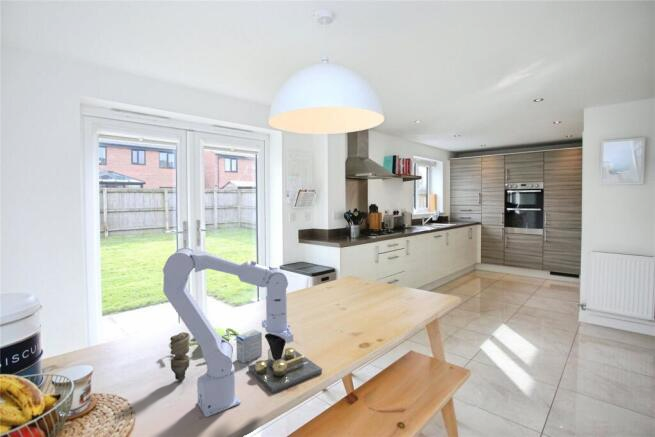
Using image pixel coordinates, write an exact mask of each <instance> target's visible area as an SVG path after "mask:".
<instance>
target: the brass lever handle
mask: <svg viewBox="0 0 655 437" xmlns="http://www.w3.org/2000/svg"><path fill="white" fill-rule="evenodd" d="M301 355H302V356H299V357H297V358H294V359H291V360H289V361H285V360H277V361H274V362H273V374H274V375H276V376H281V375H284V374H286V373H287V369H288V368H290V367H293V366H296V365H298V364H301V363H304V362H305V357H306V356H305V355H303V354H301Z"/></svg>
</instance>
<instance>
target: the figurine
mask: <svg viewBox="0 0 655 437" xmlns="http://www.w3.org/2000/svg"><path fill="white" fill-rule="evenodd" d="M214 330H215V331H216V333H217V334H220V335H221V336H222V338H223V339H224V340H226V341H230V340H231V337H232V336H231V333H232V334H234V335H235V337H236V336H238V335H241V334H240V333H239V332H238V331H237V330H235V329H233V328H231V327H227V328H226V329H225V330H224V329H223V328H220V327H216V328H214ZM230 332H231V333H230ZM225 333H226V335H227V336H225ZM189 344H190V346H189V347H192V346H196V345H199V344H198V342H197V341H196V340H195V341H190V342H189ZM171 346H172V345H171V344H170V343H168V347H169V348H170V354H171V351H172V350H171Z"/></svg>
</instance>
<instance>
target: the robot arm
mask: <svg viewBox="0 0 655 437" xmlns="http://www.w3.org/2000/svg"><path fill="white" fill-rule="evenodd" d="M207 269H209V270H213V271H216V272H222V273H225V274H230V275H234V276H237V277H238V280H239V281H240V282H241V283H246V284H249V285H252V286H255V287H260V288H266V296H265V299H266V301H265V304H266V305H265V306H266V310H265V312H266V314H265V315H266V317H265V318H266V319H264V320H261V327H262V328H263V329H265V332H266V334H265V335H264V337H265V339H266V341H267V343H268V346H269V349H271V353H272V357H273V359H274V360H278V359H281V358H282V353H283V349H284V350H285V346H286V344H290V343H293V342H294V334H293V333H292V332H291V330H290V329H289V328H291V324H290V323H288V320H287V319H288V314H287V312H288V311H287V310H288V309H287V308H288V307H287V306H288V305H287V299H288V297H287V288H288V286H289V282H288V278H287V276H286V274H285V273H284V272H283V271H282V270H281V269H279V267H278V268H277V267H273V266H270V265H269V266H265V265H262V264H258V263H257V261H256V260H253V259H252V260H251V261H248V260H247V261H245V262H243V263H240V262H239V263H238V262H236V261H233V260H230V259H227V258H223V257H221V256H218V255H216V254H213V253H209V252H206V251H203V250H199V249H194V250H193V249H191V248H190V247H182V248H178V250H176V251H175V252H174V253H172V254H171V255H170V256H169V257H168V258H167V260H166V261H165V264H164V265H163V268H162V273H163V287H162V288H163V290H162V292H163V294H164V295H165V298H166V299H167V300H168V301H169V303H170V304H171V306H172V308H173V309H174V310H175V313H177V315H178V316H179V317H180V319H181V320H182V322H183V323H184V325H185V327H186V328H187V330H188V331H189V332H190V334H191V335H192V337H193V338H194V339H195V341H197V342H198V344H197V345H199V347H200V350H201V354H202V357H203V360H204V361H205V362H206V369H207V370H206V372H205V373H204V374H203V375H201V376H199V377H198V378H197V380H196V381H197V382H196V384H197V385H196V386H197V401H196V403H197V405H198V408H200V410H201V411H202V413H203V415H204V416H205V417H207V418H208V417H211V416H213V415H215V414H219V412H222V411H225V410H227V409H230V408H232V407H235V406H237V405H240V404H241V400H240V398H238V396H237V395H236V381H235V378H236V374H235V373H236V372H235V370H236V369H235V368H236V367H235V365H234V364H233V353H234V347H233V345H232V344H231V342H230V341H229V340H225V339H223V338H222V336H221V335H220V334H217V333H216V331H215V330H214V329H215V328H214V327H213V325H212V324H211V323H210V321H209V319H208V317H207V316H206V315H205V314H204V312H203V310H202V309H201V307H200V306H199V305H198V303H197V301H196V300H195V298H194V297H193V295H192V294H191V292H190V291H189V289H188V288H187V284H188V280H189V277H190V274H191V272H192V271H193V270H194V273H198V272H201V271H204V270H207Z"/></svg>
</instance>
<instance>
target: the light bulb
mask: <svg viewBox="0 0 655 437" xmlns="http://www.w3.org/2000/svg"><path fill="white" fill-rule="evenodd" d="M190 338H191V335H190V333H188V332H184V331H183V332H180V333H178V334H175V335H173V336H171V337H170V343H169V344H171V345H172V346H171V348H170V352H171V353H170V355H172V356H173V357H172V358H171V359H170V370H171V371H172V372H173V374H174V377H175V378H174V379H175V380H176V381H179V382H182V381H183V380H185V379H186V371H187V370H188V368H189V367H190V366H189V365H190V356H189V355H187V354H188V353H189V352H190V347H191V346H190V344H189V343H191V339H190ZM171 350H172V351H171Z"/></svg>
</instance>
